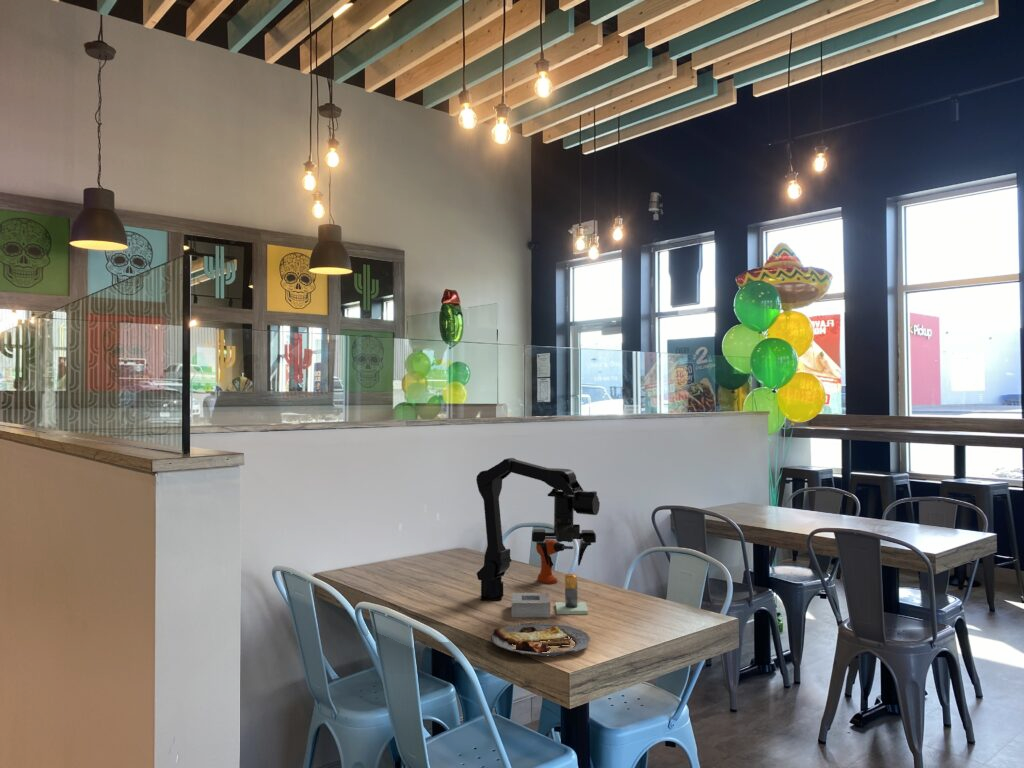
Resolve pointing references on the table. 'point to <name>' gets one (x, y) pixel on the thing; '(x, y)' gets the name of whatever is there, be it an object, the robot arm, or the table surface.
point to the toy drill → (549, 560)
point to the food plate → (539, 638)
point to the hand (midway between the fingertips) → (563, 565)
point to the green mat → (564, 610)
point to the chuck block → (530, 605)
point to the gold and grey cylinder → (571, 591)
